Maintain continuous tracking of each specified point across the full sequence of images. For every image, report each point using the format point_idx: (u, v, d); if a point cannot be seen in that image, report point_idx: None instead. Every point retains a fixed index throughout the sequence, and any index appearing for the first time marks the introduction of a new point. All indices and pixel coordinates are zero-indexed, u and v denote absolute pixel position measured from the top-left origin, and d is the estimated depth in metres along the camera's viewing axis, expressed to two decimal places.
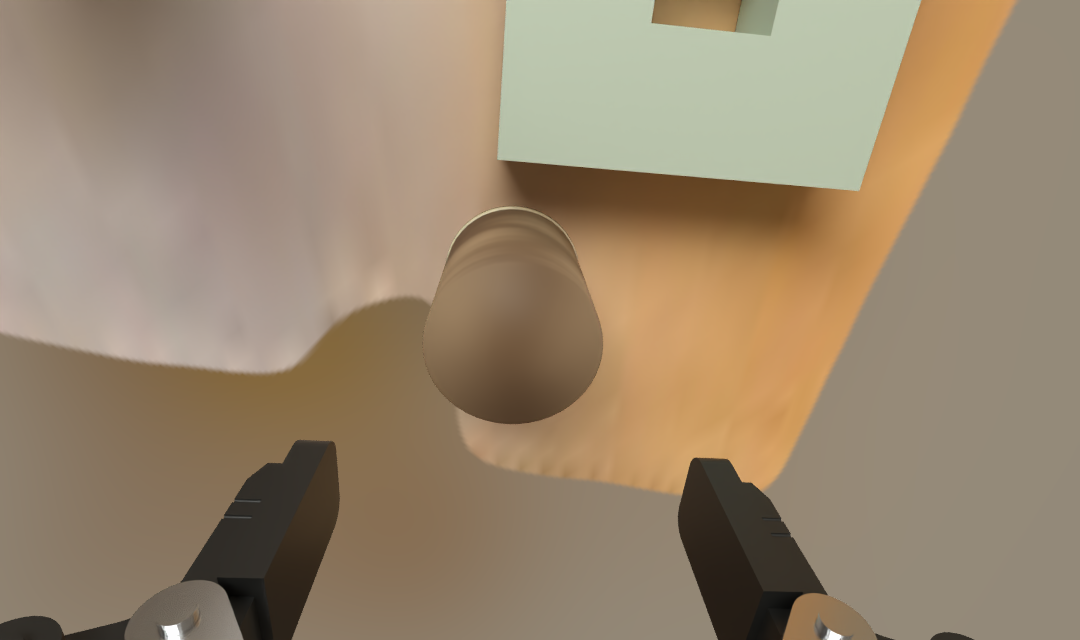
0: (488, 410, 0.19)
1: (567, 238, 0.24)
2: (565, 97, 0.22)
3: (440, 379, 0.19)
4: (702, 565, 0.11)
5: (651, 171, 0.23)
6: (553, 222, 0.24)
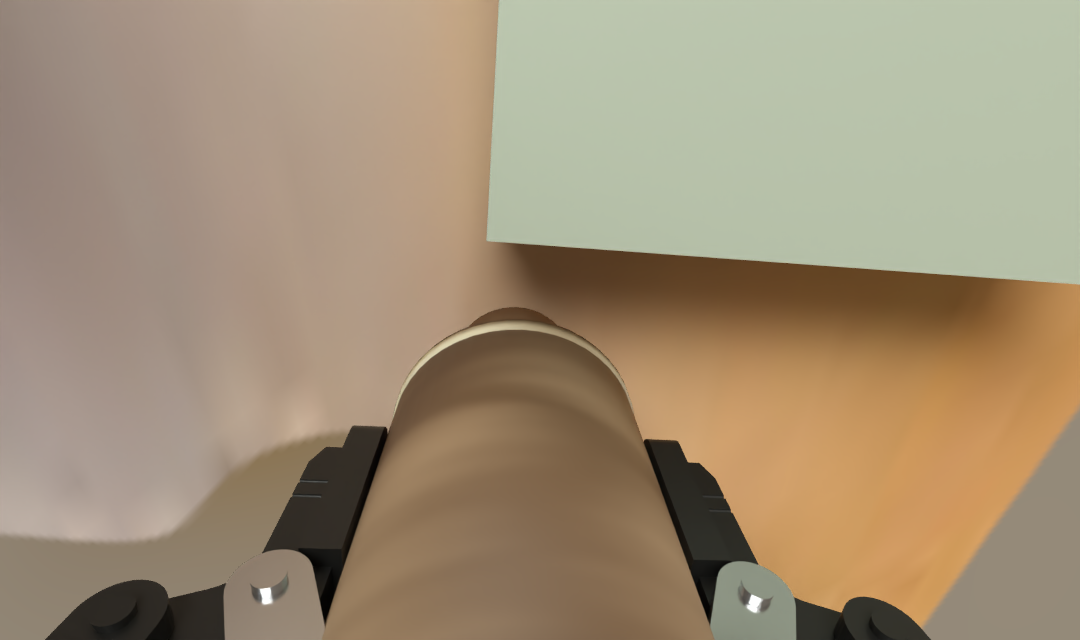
0: None
1: (616, 380, 0.13)
2: (623, 121, 0.11)
3: None
4: None
5: (782, 260, 0.12)
6: (590, 351, 0.13)
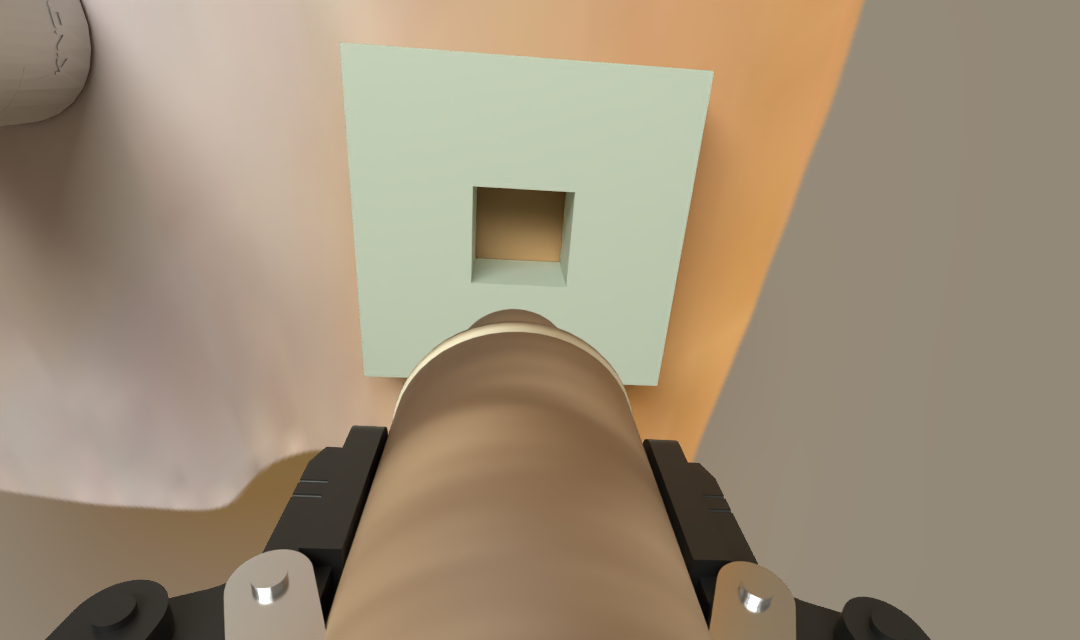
0: None
1: (615, 382, 0.13)
2: (411, 333, 0.28)
3: None
4: None
5: None
6: (590, 353, 0.13)
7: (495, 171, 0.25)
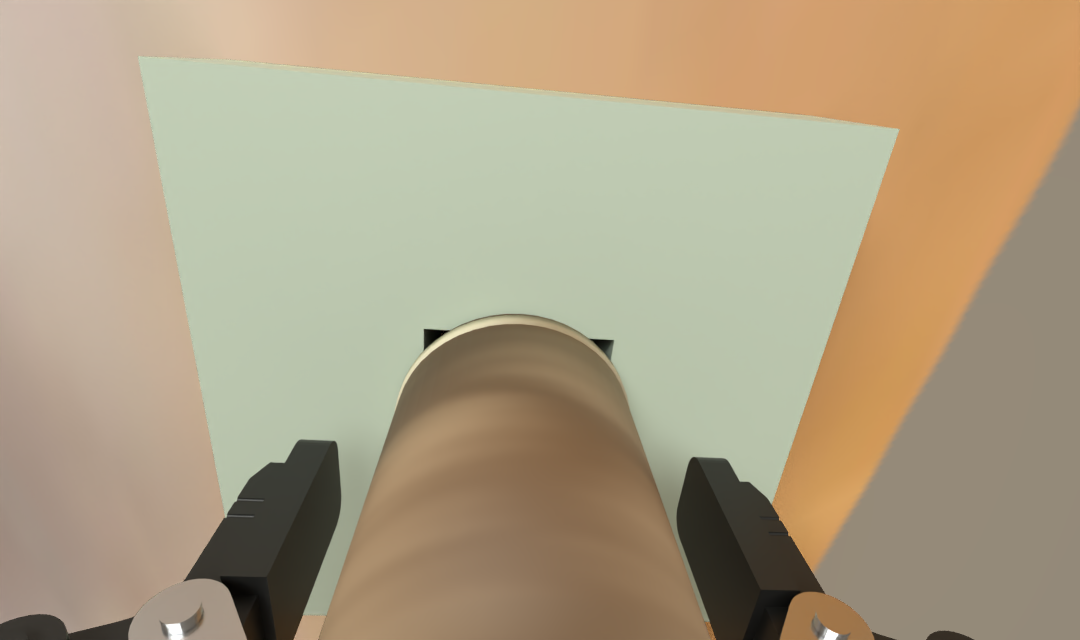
0: None
1: (612, 373, 0.13)
2: None
3: None
4: (700, 564, 0.11)
5: None
6: (587, 345, 0.13)
7: (465, 303, 0.13)
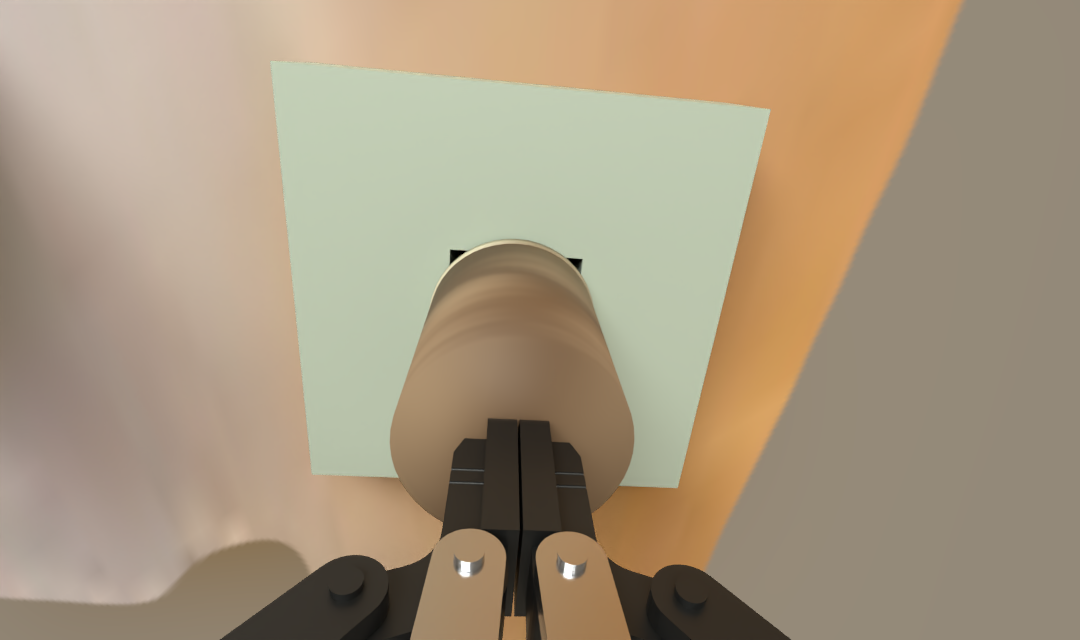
0: None
1: (580, 279, 0.19)
2: (371, 425, 0.23)
3: (415, 486, 0.14)
4: None
5: None
6: (563, 259, 0.19)
7: (479, 231, 0.19)
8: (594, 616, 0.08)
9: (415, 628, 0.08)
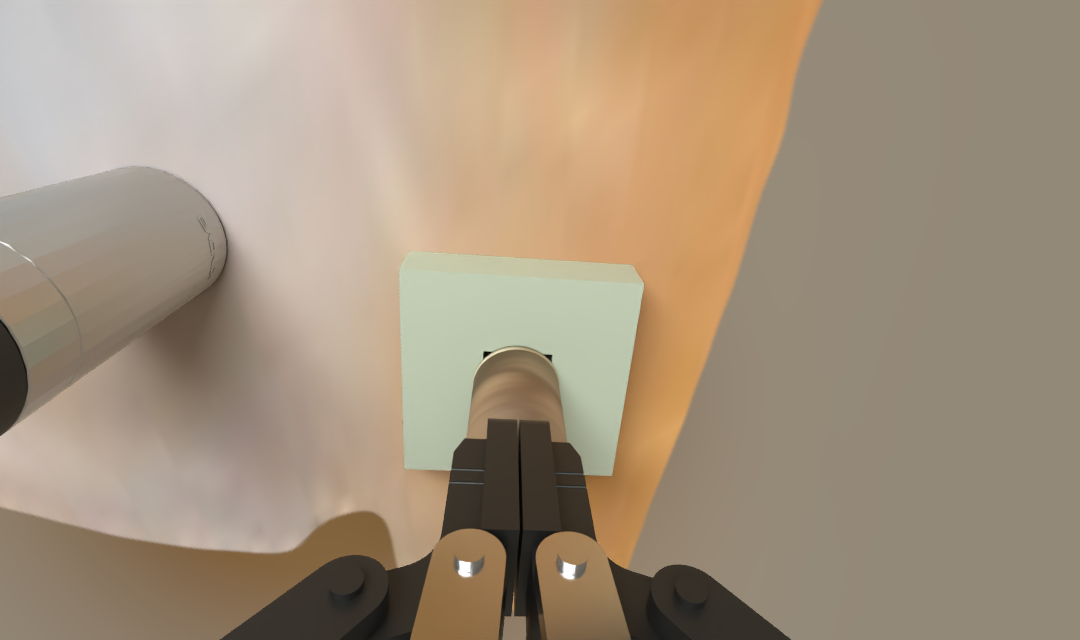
0: None
1: (550, 366, 0.38)
2: (438, 441, 0.41)
3: None
4: None
5: None
6: (541, 356, 0.38)
7: (498, 342, 0.38)
8: (594, 616, 0.08)
9: (415, 628, 0.08)
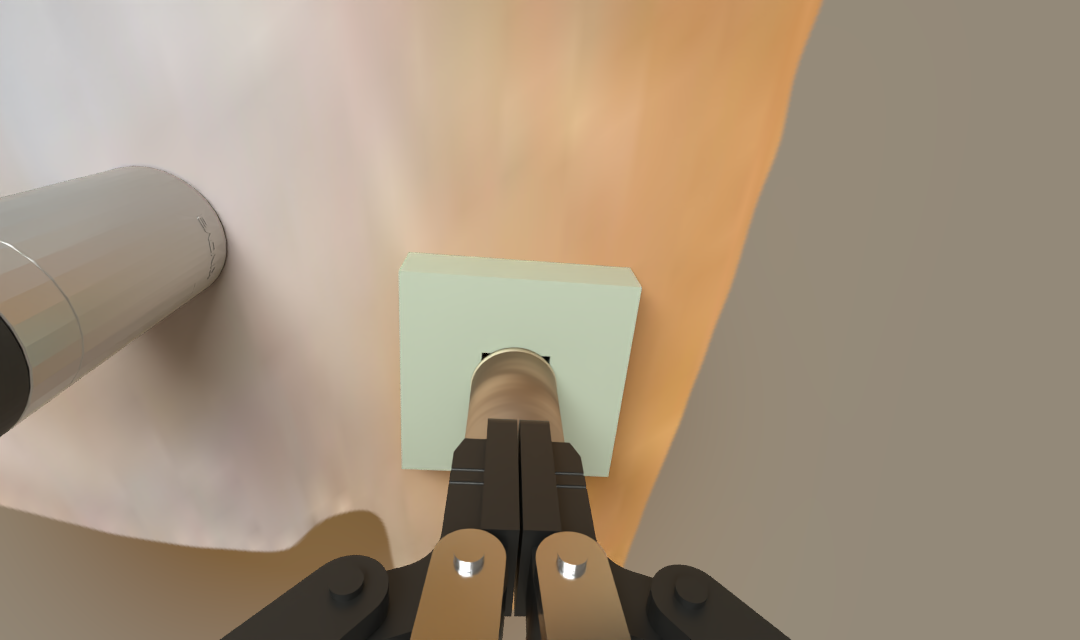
0: None
1: (548, 368, 0.38)
2: (436, 441, 0.41)
3: None
4: None
5: None
6: (539, 358, 0.38)
7: (496, 343, 0.38)
8: (594, 615, 0.08)
9: (416, 628, 0.08)
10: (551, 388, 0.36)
